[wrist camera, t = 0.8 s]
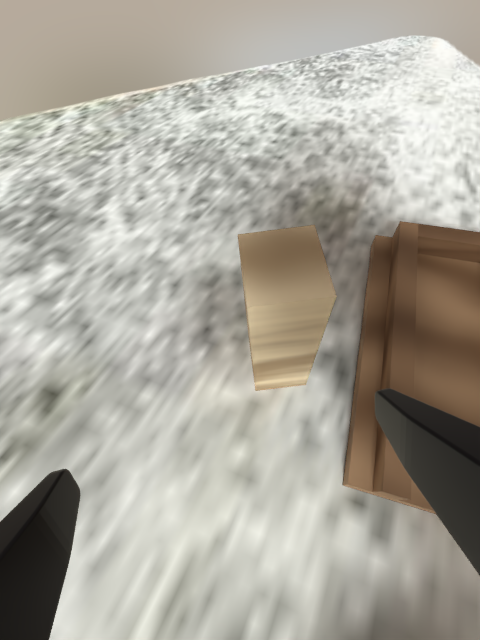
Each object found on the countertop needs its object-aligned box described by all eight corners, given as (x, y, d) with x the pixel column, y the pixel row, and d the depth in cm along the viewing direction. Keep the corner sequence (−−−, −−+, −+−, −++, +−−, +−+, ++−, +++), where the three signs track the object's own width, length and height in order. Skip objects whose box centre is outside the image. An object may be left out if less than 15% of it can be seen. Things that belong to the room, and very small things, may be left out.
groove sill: (547, 548, 19) (602, 558, 16) (342, 485, 21) (355, 482, 18) (506, 267, 29) (535, 240, 26) (371, 246, 31) (382, 218, 28)
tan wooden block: (305, 384, 25) (336, 296, 14) (255, 390, 25) (247, 307, 14) (295, 334, 27) (314, 224, 16) (249, 340, 27) (237, 234, 16)
